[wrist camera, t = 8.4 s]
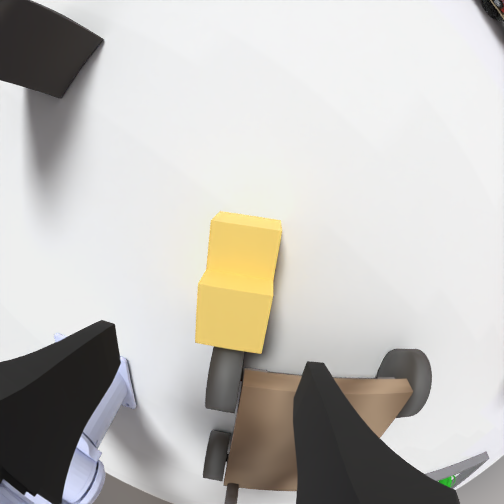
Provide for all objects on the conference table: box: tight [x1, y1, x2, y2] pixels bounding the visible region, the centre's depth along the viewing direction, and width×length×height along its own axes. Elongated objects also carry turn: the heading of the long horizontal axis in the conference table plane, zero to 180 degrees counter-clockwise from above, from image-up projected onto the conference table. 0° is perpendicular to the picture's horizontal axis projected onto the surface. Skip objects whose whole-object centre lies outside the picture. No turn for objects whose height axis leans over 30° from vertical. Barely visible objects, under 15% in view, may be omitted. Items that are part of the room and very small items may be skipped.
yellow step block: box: [195, 211, 282, 354], centre depth 17 cm, size 4×7×5 cm, turn 172°
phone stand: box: [0, 0, 103, 98], centre depth 8 cm, size 9×6×12 cm, turn 47°
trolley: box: [203, 346, 432, 504], centre depth 17 cm, size 16×20×15 cm
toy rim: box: [425, 452, 489, 489], centre depth 33 cm, size 22×22×2 cm
